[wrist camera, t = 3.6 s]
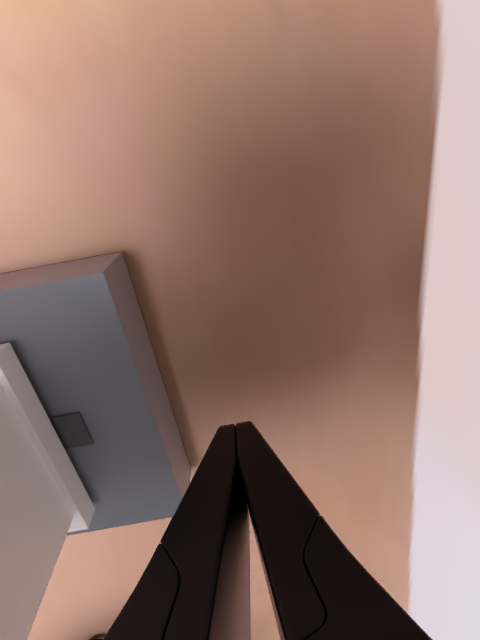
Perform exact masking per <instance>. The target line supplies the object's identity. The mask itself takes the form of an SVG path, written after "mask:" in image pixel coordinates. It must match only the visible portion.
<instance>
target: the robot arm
mask: <svg viewBox="0 0 480 640" xmlns="http://www.w3.org/2000/svg"><path fill="white" fill-rule="evenodd" d="M248 509H249V510H248ZM249 513H250V518H251V522H252V526H253V530H254V534H255V538H256V542H257V546H258V550H259V554H260V558H261V562H262V566H263V570H264V574H265V578H266V582H267V586H268V590H269V594H270V598H271V602H272V606H273V610H274V614H275V618H276V622H277V626H278V630H279V634H280V638H281V640H432V639H431V638H430V637H429V636H428V635H427V634H426V633H425V632H424V631H423V630H422V629H421V628H420V626H419V625H417V623H416V622H415V621H414V620H413V619H412V618H411V617H410V616H409V615H408V614H407V613H406V612H405V611H404V610H403V608H402V607H401V606H400V605H399V604H398V603H397V602H396V601H395V600H394V599H393V598H392V597H391V596H390V595H389V594H388V593H387V592H386V591H385V589H384V588H383V587H382V586H381V585H380V584H379V583H378V582H377V581H376V580H375V579H374V578H373V577H372V576H371V575H370V574H369V573H368V572H367V570H366V569H365V568H364V567H363V566H362V565H361V564H360V563H359V561H358V560H357V559H356V558H355V557H354V556H353V555H352V554H351V553H350V551H349V550H348V549H347V548H346V547H345V545H344V544H343V543H342V542H341V540H340V539H339V538H338V537H337V535H336V534H335V533H334V532H333V530H332V529H331V528H330V526H329V525H328V524H327V522H326V521H325V520H324V518H323V517H322V516H320V513H319V512H318V510H317V509H316V508H315V506H314V505H313V504H312V502H311V501H310V500H309V498H308V497H307V496H306V494H305V493H304V492H303V490H302V489H301V488H300V486H299V485H298V484H297V482H296V481H295V479H294V478H293V477H292V475H291V474H290V473H289V471H288V470H287V469H286V467H285V466H284V465H283V463H282V462H281V461H280V459H279V458H278V457H277V455H276V454H275V453H274V451H273V450H272V449H271V447H270V446H269V444H268V443H267V442H266V440H265V439H264V438H263V436H262V435H261V434H260V432H259V431H258V430H257V428H256V427H255V426H254V424H253V423H252V422H251V421H247V422H241V423H237V424H236V426H235V425H234V424H230V425H224V426H220V427H219V428H218V430H217V432H216V434H215V436H214V438H213V440H212V442H211V444H210V445H209V447H208V449H207V451H206V453H205V455H204V457H203V459H202V461H201V463H200V465H199V467H198V469H197V471H196V473H195V475H194V477H193V479H192V481H191V483H190V484H189V486H188V488H187V490H186V492H185V494H184V496H183V498H182V500H181V502H180V504H179V506H178V508H177V510H176V512H175V514H174V516H173V518H172V520H171V521H170V523H169V525H168V527H167V529H166V531H165V533H164V535H163V537H162V539H161V544H159V545H158V546H157V548H156V550H155V552H154V554H153V556H152V558H151V560H150V562H149V564H148V566H147V568H146V569H145V571H144V573H143V575H142V577H141V579H140V580H139V582H138V584H137V586H136V587H135V589H134V591H133V592H132V594H131V596H130V597H129V599H128V601H127V602H126V604H125V605H124V607H123V609H122V610H121V612H120V614H119V615H118V617H117V618H116V620H115V622H114V623H113V625H112V626H111V628H110V629H109V631H108V632H107V634H106V636H105V637H104V639H94V640H251V638H250V546H249Z"/></svg>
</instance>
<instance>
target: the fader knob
mask: <svg viewBox="0 0 480 640" xmlns="http://www.w3.org/2000/svg"><path fill="white" fill-rule="evenodd" d="M94 511H95V507H94V505H93V503H92V501H91V500H90V498H89V496H88V494H87V492H86V490H85V488H84V486H83V484H82V482H81V480H80V478H79V476H78V474H77V472H76V470H75V468H74V467H73V465H72V463H71V461H70V459H69V457H68V455H67V453H66V451H65V449H64V447H63V445H62V443H61V441H60V439H59V437H58V435H57V433H56V432H55V430H54V428H53V426H52V424H51V422H50V420H49V418H48V416H47V414H46V412H45V410H44V408H43V406H42V404H41V402H40V400H39V399H38V397H37V395H36V393H35V391H34V389H33V387H32V385H31V383H30V381H29V379H28V377H27V375H26V373H25V371H24V369H23V367H22V366H21V364H20V362H19V360H18V358H17V356H16V354H15V352H14V350H13V348H12V346H11V344H10V343H5V344H0V640H27V637H28V635H29V632H30V630H31V627H32V624H33V622H34V619H35V617H36V614H37V611H38V609H39V606H40V603H41V601H42V598H43V596H44V593H45V590H46V588H47V585H48V583H49V580H50V577H51V575H52V572H53V570H54V567H55V564H56V562H57V559H58V556H59V554H60V551H61V549H62V546H63V543H64V541H65V538H66V536H67V533H68V532H74V531H80V530H85V529H89V526H90V523H91V520H92V517H93V514H94Z"/></svg>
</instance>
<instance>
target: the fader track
mask: <svg viewBox="0 0 480 640" xmlns="http://www.w3.org/2000/svg"><path fill="white" fill-rule="evenodd" d="M5 343H10V344H11V346H12V348H13V350H14V352H15V354H16V356H17V358H18V360H19V362H20V364H21V366H22V367H23V369H24V371H25V373H26V375H27V377H28V379H29V381H30V383H31V385H32V387H33V389H34V391H35V393H36V395H37V397H38V399H39V400H40V402H41V404H42V406H43V408H44V410H45V412H46V414H47V416H48V418H49V420H50V422H51V424H52V426H53V428H54V430H55V432H56V433H57V435H58V437H59V439H60V441H61V443H62V445H63V447H64V449H65V451H66V453H67V455H68V457H69V459H70V461H71V463H72V465H73V467H74V468H75V470H76V472H77V474H78V476H79V478H80V480H81V482H82V484H83V486H84V488H85V490H86V492H87V494H88V496H89V498H90V500H91V501H92V503H93V505H94V507H95V511H94V514H93V517H92V520H91V523H90V526H89V529H85V530H80V531H74V532H68V533H67V535H73V534H78V533H84V532H90V531H95V530H101V529H107V528H112V527H118V526H124V525H129V524H135V523H141V522H146V521H152V520H157V519H163V518H169V517H173V516H174V514H175V512H176V510H177V508H178V506H179V504H180V502H181V500H182V498H183V496H184V494H185V492H186V490H187V488H188V486H189V484H190V473H191V468H190V465H189V461H188V458H187V455H186V452H185V449H184V446H183V442H182V439H181V436H180V433H179V430H178V427H177V424H176V420H175V417H174V414H173V411H172V408H171V405H170V401H169V398H168V395H167V392H166V389H165V386H164V383H163V379H162V376H161V373H160V370H159V367H158V364H157V360H156V357H155V354H154V351H153V348H152V345H151V342H150V338H149V335H148V332H147V329H146V326H145V323H144V319H143V316H142V313H141V310H140V307H139V304H138V301H137V297H136V294H135V291H134V288H133V285H132V282H131V278H130V275H129V272H128V269H127V266H126V263H125V260H124V256H123V253H122V252H116V253H111V254H106V255H100V256H95V257H89V258H84V259H78V260H73V261H67V262H62V263H57V264H51V265H46V266H40V267H35V268H29V269H24V270H19V271H13V272H8V273H2V274H0V344H5Z"/></svg>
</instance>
